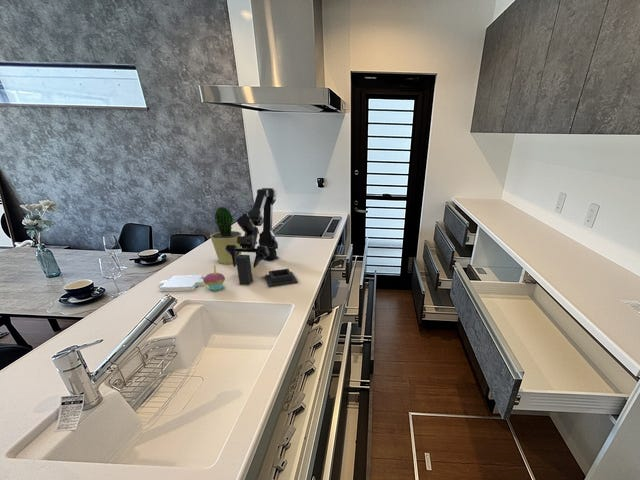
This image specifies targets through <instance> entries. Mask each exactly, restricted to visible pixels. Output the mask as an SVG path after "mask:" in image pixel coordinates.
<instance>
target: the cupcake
mask: <svg viewBox="0 0 640 480" xmlns="http://www.w3.org/2000/svg"><path fill="white" fill-rule="evenodd" d="M203 277H204V279H203V282H204V283H205V284H204V285H206V286H208V288H209V290H210V291H220V290H221V289H223V285H224V283H225V280H226V278H225V276H224V274H222V273H220V272H217V267H216V264H214V265H213V272H211V273H208V274H206V275H205V276H203Z"/></svg>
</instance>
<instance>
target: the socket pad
mask: <svg viewBox="0 0 640 480" xmlns="http://www.w3.org/2000/svg"><path fill="white" fill-rule="evenodd" d="M264 278H265V280H266V283H267V286H268V288H274V287H281V286H287V285H292V284H298V279H297V278H296V276H295V274H294V273H293V271H291V270H290V269H289V268H282V269H276V270H275V269H274V270H268V274H265V275H264Z"/></svg>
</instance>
